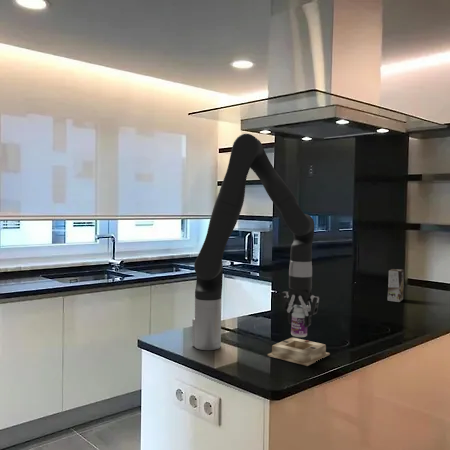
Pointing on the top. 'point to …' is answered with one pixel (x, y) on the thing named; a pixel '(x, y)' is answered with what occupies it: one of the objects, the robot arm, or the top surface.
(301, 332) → the pill bottle
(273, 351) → the holder
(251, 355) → the top surface
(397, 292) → the coffee box
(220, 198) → the robot arm
